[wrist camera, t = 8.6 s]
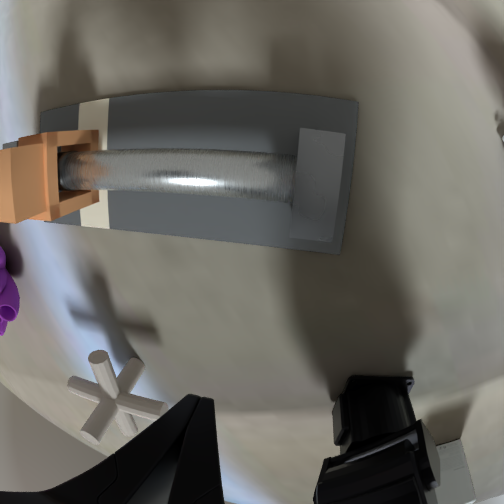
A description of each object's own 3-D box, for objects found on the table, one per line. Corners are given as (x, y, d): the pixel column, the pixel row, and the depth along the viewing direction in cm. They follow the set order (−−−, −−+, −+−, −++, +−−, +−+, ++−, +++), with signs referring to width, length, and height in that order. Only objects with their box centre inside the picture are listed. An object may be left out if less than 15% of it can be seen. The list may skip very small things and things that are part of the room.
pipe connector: (85, 315, 25) (22, 377, 16) (175, 332, 24) (122, 419, 15) (110, 386, 29) (69, 447, 20) (189, 406, 28) (158, 483, 18)
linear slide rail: (331, 136, 17) (345, 133, 12) (322, 215, 19) (332, 242, 14) (50, 138, 19) (2, 144, 14) (51, 195, 21) (6, 211, 16)
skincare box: (418, 449, 27) (431, 515, 17) (460, 437, 25) (479, 498, 16) (402, 481, 30) (409, 535, 20) (440, 471, 29) (450, 523, 19)
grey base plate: (357, 102, 16) (358, 101, 16) (339, 252, 20) (339, 255, 19) (43, 112, 19) (40, 112, 18) (47, 220, 22) (43, 222, 22)
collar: (98, 129, 17) (13, 135, 10) (99, 201, 19) (20, 235, 12) (69, 133, 18) (-13, 142, 10) (70, 200, 20) (-6, 230, 12)
